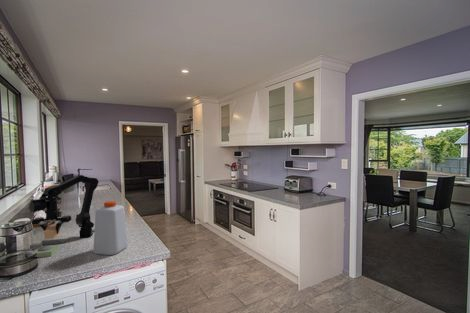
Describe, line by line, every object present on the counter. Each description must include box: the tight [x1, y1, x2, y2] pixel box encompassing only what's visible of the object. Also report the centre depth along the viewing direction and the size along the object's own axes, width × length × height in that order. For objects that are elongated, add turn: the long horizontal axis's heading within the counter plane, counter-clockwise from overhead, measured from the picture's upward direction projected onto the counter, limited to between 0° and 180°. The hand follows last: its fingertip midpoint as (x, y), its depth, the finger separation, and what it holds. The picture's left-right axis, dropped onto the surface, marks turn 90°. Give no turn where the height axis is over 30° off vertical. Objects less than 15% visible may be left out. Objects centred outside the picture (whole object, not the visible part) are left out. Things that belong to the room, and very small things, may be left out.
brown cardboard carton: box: [43, 223, 61, 240], centre depth 152 cm, size 5×8×6 cm, turn 15°
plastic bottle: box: [93, 200, 129, 256], centre depth 147 cm, size 15×15×28 cm
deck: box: [33, 238, 66, 258], centre depth 148 cm, size 13×21×3 cm, turn 15°
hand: (52, 234), depth 152 cm, fingers closed on brown cardboard carton, 5 cm apart
